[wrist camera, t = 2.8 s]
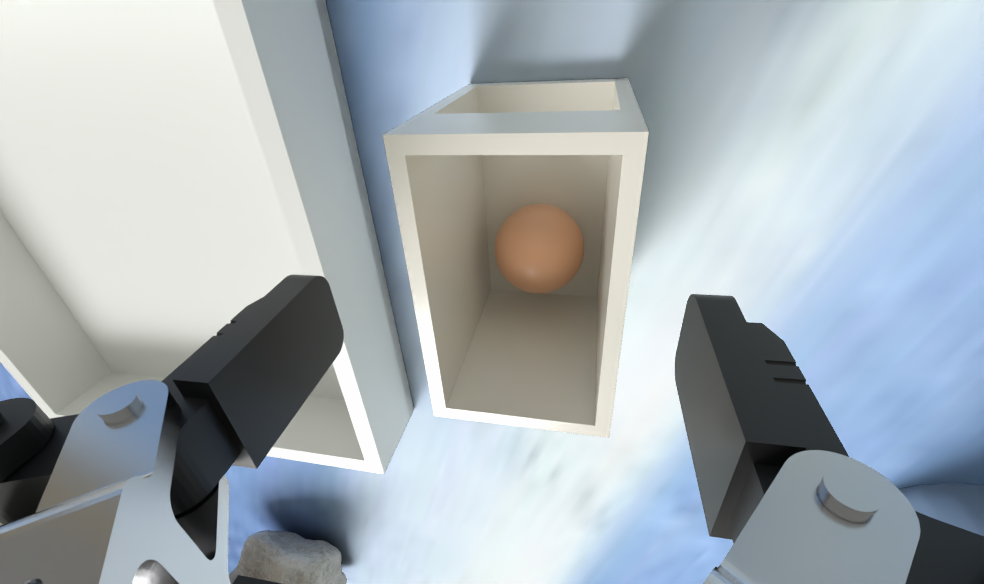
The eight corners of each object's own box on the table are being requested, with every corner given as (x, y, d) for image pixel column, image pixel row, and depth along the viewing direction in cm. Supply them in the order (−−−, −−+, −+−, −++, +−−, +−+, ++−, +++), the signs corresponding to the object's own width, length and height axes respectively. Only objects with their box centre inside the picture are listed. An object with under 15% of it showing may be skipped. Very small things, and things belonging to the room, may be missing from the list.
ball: (585, 219, 16) (588, 191, 13) (580, 300, 16) (583, 290, 13) (504, 217, 17) (490, 189, 14) (498, 295, 16) (482, 284, 13)
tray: (313, -58, 13) (217, -80, 10) (414, 409, 24) (384, 474, 21) (-146, -7, 17) (-322, -11, 14) (117, 373, 28) (52, 422, 25)
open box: (627, 78, 13) (648, 131, 8) (606, 297, 18) (609, 437, 12) (469, 83, 14) (382, 135, 9) (485, 290, 19) (433, 415, 13)
